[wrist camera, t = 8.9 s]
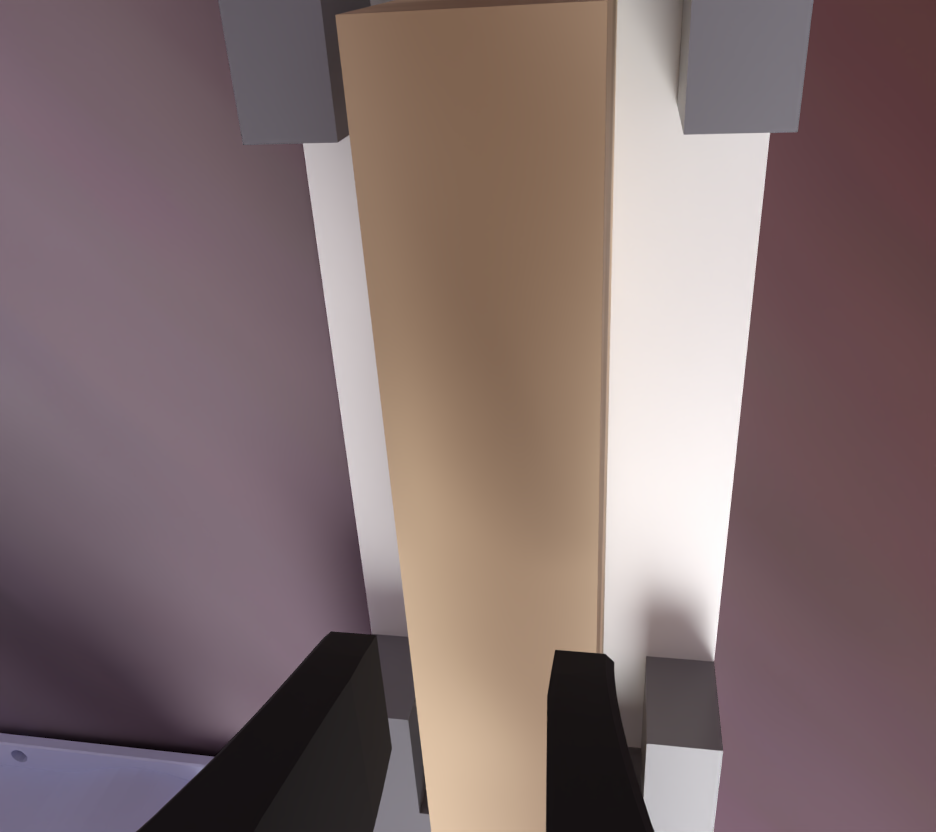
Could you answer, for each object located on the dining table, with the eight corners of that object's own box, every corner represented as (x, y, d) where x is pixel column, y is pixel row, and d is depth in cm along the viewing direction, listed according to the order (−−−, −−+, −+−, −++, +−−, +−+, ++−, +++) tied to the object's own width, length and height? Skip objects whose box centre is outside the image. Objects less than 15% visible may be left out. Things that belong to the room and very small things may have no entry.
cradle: (398, 732, 24) (363, 847, 21) (279, -185, 14) (181, -219, 11) (697, 763, 23) (706, 890, 20) (798, -234, 13) (847, -289, 10)
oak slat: (479, 707, 22) (439, 900, 17) (429, -9, 14) (335, 14, 10) (601, 719, 21) (592, 920, 17) (617, -19, 13) (607, 0, 9)
